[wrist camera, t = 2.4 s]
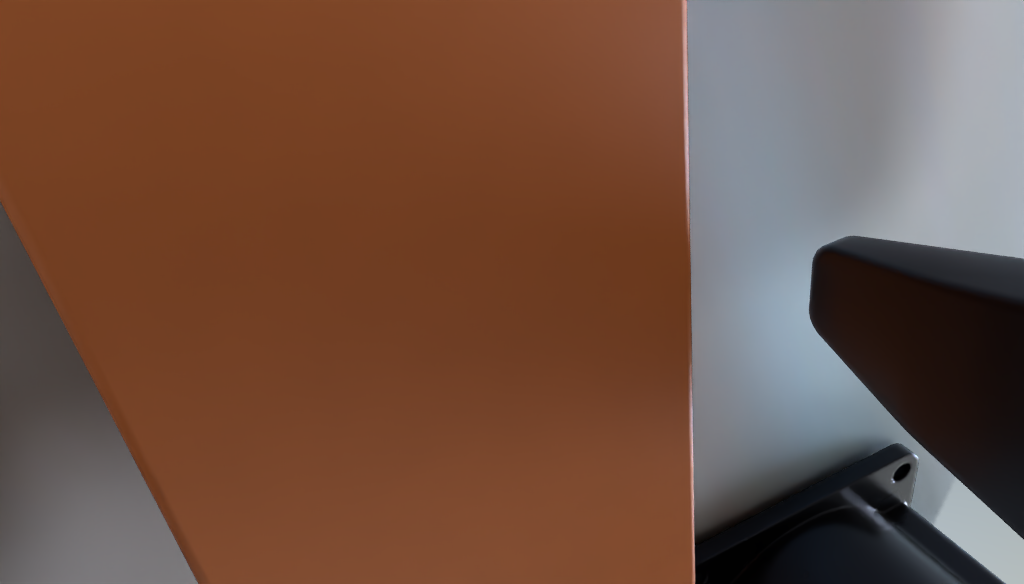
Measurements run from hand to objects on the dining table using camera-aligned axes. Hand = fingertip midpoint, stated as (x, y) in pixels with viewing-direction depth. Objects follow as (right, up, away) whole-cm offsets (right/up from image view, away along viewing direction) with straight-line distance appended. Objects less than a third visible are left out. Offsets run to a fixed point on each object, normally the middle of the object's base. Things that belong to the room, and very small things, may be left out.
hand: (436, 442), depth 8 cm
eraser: (-2, +2, +3) cm, 4 cm away
